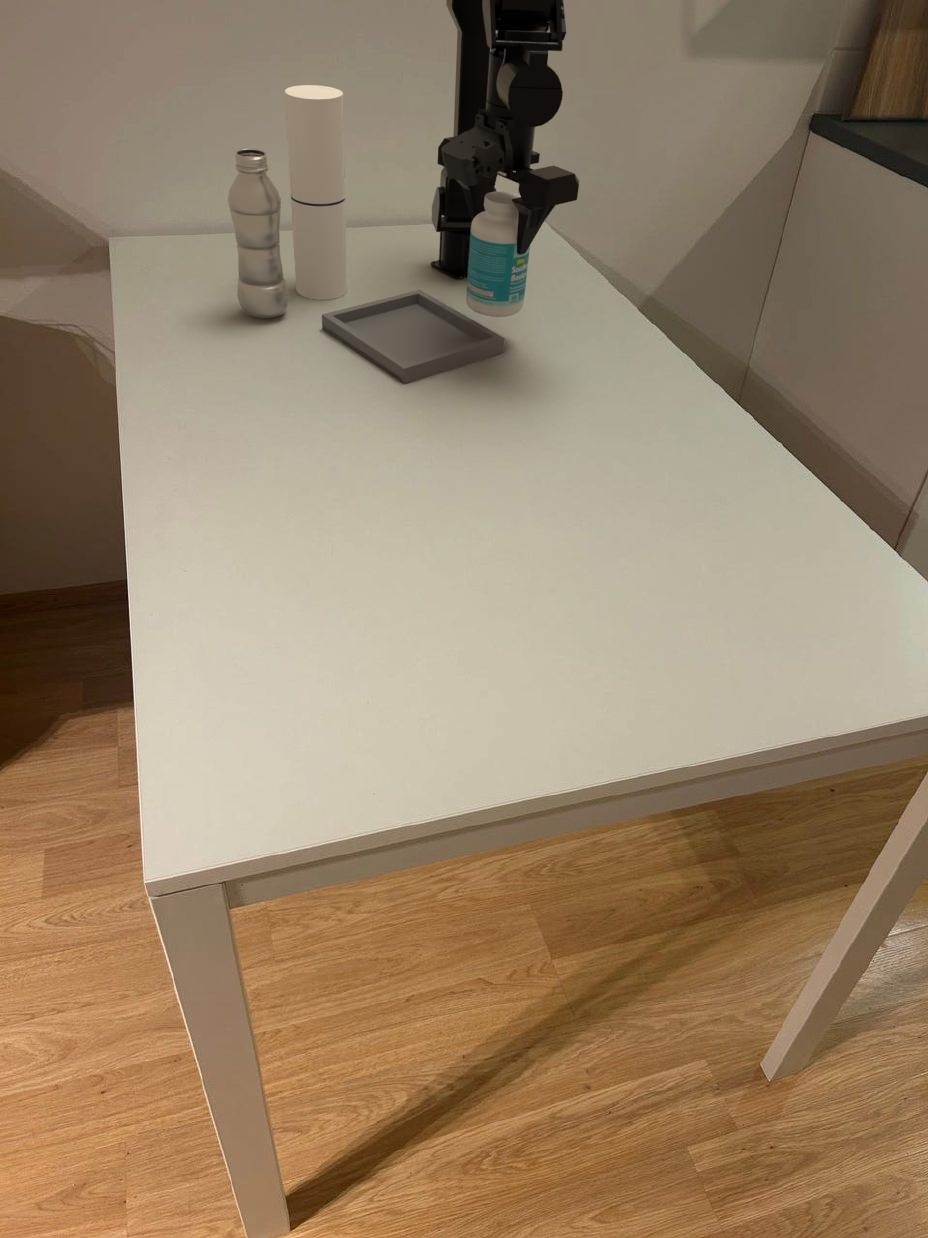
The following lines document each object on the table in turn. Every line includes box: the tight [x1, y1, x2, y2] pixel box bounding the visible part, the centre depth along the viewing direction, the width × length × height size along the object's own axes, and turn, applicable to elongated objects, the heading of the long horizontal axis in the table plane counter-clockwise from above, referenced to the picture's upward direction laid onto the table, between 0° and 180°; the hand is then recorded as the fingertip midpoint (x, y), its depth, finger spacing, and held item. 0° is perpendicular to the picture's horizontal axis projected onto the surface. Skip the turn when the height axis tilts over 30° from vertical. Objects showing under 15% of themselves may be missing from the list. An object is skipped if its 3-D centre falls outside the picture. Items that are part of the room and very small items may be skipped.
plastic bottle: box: [227, 148, 289, 319], centre depth 118 cm, size 6×7×20 cm
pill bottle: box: [465, 191, 531, 318], centre depth 115 cm, size 8×7×14 cm
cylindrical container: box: [284, 84, 348, 301], centre depth 124 cm, size 7×7×25 cm
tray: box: [321, 289, 506, 385], centre depth 121 cm, size 18×16×2 cm
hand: (499, 243), depth 114 cm, fingers closed on pill bottle, 7 cm apart
